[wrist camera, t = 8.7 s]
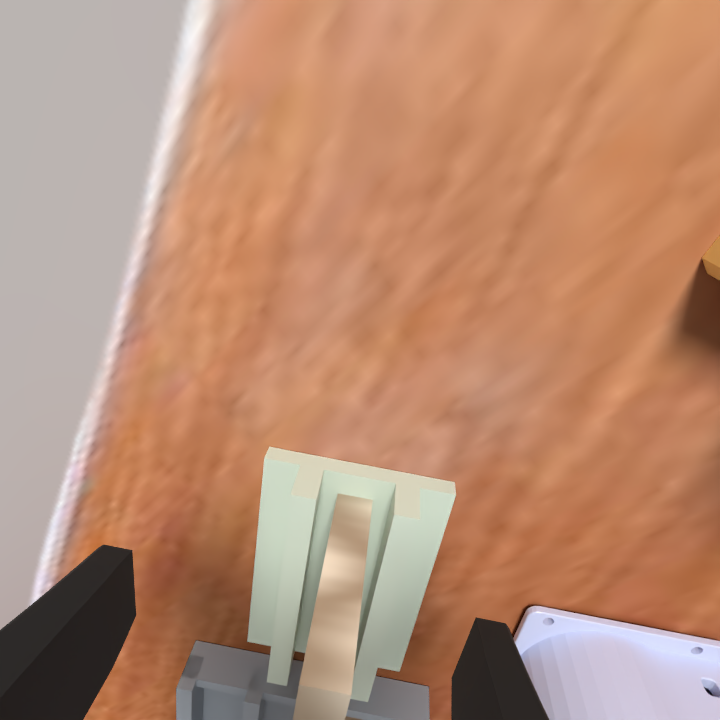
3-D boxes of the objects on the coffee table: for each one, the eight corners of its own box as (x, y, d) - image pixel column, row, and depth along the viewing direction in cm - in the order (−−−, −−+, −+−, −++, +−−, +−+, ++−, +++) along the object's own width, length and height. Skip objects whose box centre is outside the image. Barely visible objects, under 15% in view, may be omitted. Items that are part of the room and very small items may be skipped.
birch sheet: (372, 499, 22) (351, 694, 14) (339, 648, 26) (310, 852, 19) (337, 493, 22) (299, 684, 14) (310, 642, 26) (270, 844, 19)
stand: (454, 482, 22) (459, 527, 19) (399, 656, 27) (398, 708, 25) (269, 446, 22) (252, 487, 20) (251, 627, 27) (236, 676, 25)
